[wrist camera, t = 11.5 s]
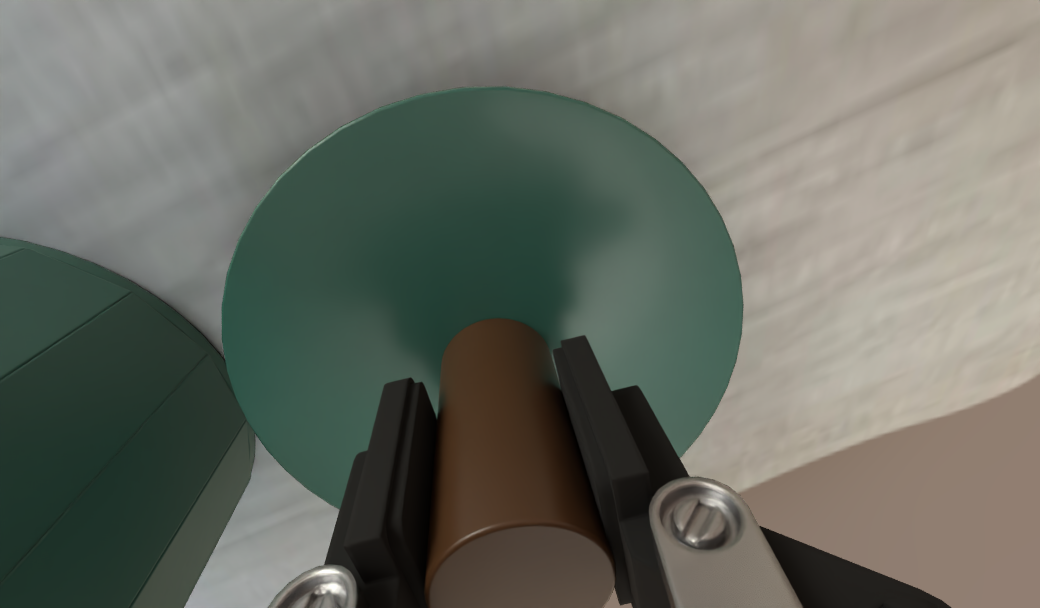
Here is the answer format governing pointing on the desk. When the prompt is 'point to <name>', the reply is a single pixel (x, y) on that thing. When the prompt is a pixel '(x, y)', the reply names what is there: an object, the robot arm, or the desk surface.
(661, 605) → the robot arm
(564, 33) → the desk surface
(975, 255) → the desk surface
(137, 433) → the pot
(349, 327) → the lid
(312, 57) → the desk surface
